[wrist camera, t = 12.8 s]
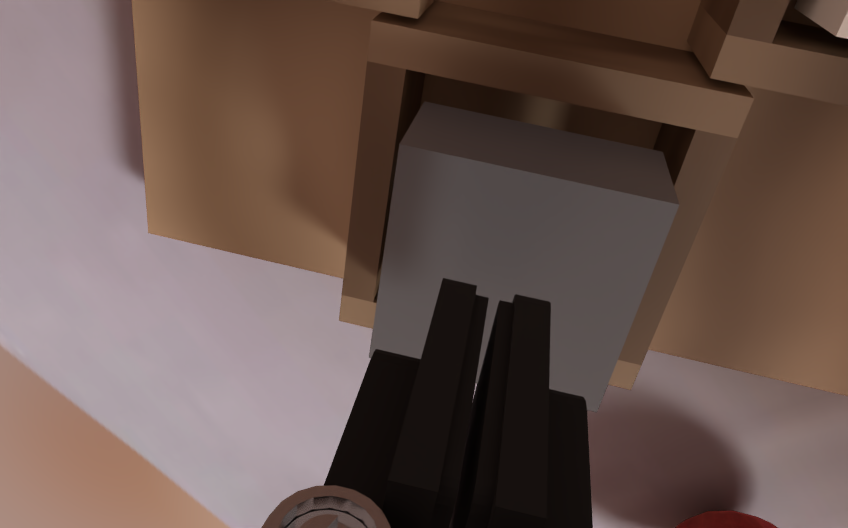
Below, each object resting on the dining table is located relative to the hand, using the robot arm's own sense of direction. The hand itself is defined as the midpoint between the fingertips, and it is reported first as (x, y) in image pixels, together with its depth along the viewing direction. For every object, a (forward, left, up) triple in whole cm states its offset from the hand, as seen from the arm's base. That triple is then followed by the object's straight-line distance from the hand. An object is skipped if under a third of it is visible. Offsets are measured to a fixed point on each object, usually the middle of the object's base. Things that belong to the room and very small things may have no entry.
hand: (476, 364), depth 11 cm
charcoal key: (0, 0, -5) cm, 5 cm away
